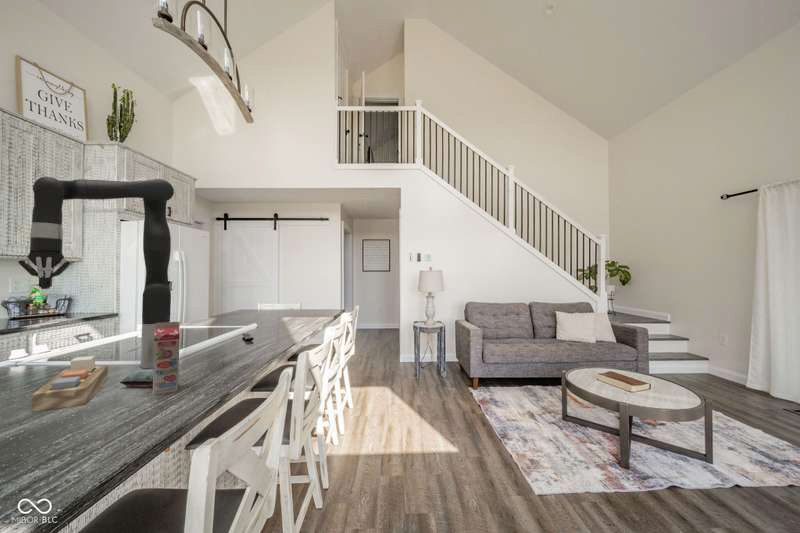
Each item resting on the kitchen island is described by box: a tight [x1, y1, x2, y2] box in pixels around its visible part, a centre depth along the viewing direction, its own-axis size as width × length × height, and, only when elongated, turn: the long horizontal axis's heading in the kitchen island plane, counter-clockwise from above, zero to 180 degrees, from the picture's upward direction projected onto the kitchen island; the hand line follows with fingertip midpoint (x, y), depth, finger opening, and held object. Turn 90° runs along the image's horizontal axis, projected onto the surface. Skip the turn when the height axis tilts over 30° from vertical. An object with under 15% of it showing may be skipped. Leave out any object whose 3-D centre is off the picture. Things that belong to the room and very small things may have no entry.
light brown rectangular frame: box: [31, 365, 109, 413], centre depth 106 cm, size 11×26×5 cm, turn 30°
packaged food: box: [119, 369, 153, 388], centre depth 115 cm, size 9×12×5 cm
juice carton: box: [152, 321, 181, 396], centre depth 111 cm, size 7×7×22 cm
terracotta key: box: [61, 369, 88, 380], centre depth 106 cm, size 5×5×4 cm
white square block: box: [69, 355, 96, 372], centre depth 113 cm, size 5×5×4 cm
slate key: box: [51, 376, 81, 390], centre depth 99 cm, size 5×5×4 cm
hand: (45, 288), depth 114 cm, fingers closed
